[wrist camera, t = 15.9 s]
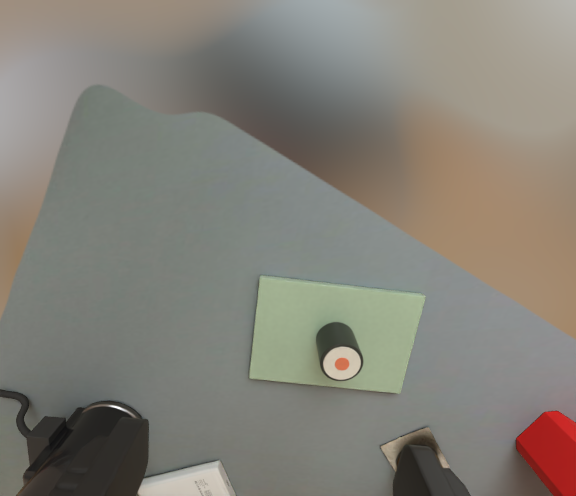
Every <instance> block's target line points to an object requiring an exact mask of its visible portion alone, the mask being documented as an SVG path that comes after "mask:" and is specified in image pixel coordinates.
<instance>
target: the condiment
mask: <svg viewBox="0 0 576 496" xmlns="http://www.w3.org/2000/svg"><path fill="white" fill-rule="evenodd" d="M404 445H416V446H427V447H430V448H431V449H432V450H433V451H434V453H435V455H436V457H437V459H438V461H439V463H440V465H441V467H442V468H449V465H448V463H447V461H446V460H445V458H444V456H443V454H442V452H441V450H440V448H439V446H438V445H437V443H436V441H435V439H434V437H433V435H432V433H431V431H430V429H429V428H428V427H427V428H424V429H420V430H418V431H415V432H413V433H410V434H407V435H405V436H403V437H399V438H398V439H396V440H394V441H391V442H388V443H387V444H385V445H382V446H380V447H381V449H382V450H383V452H384V454H385V455H386V457H387V459H388V460H389V462H390V464H391V465H392V467H393V469H394V470H395V472H396V469H397V466H398V462H399V459H400V455H401V452H402V449H403V446H404Z"/></svg>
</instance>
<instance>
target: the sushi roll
mask: <svg viewBox="0 0 576 496" xmlns="http://www.w3.org/2000/svg"><path fill="white" fill-rule="evenodd" d="M316 344H317V350H318V356H319V362H320V367H321V370H322V372H323V373H324V375H325V376H327V377H328V378H330V379H332V380H335V381H347V380H350V379H352V378H354V377H355V376H357V375H358V374H359V372H360V371H361V369H362V367H363V356H362V353H361V351H360V348H359V345H358V343H357V340H356V338H355V335H354V333H353V331H352V329H351V328H350V327H349V326H348V325H346V324H344V323H340V322H332V323H328V324H326V325H324V326H323V327H322V328H321V329H320V330H319V332H318V333H317V336H316Z"/></svg>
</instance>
